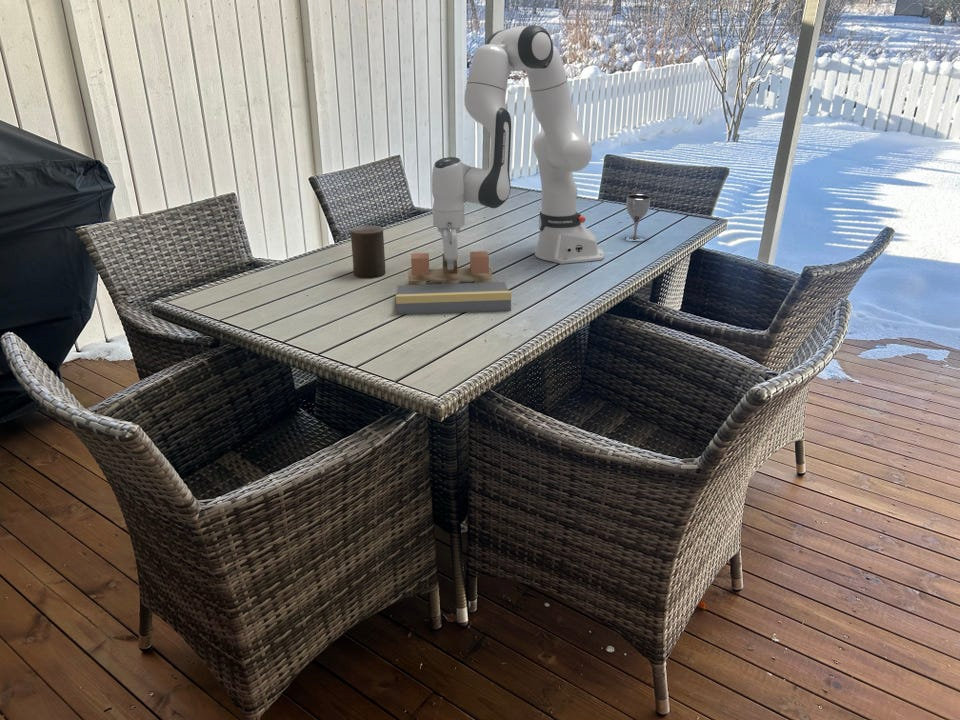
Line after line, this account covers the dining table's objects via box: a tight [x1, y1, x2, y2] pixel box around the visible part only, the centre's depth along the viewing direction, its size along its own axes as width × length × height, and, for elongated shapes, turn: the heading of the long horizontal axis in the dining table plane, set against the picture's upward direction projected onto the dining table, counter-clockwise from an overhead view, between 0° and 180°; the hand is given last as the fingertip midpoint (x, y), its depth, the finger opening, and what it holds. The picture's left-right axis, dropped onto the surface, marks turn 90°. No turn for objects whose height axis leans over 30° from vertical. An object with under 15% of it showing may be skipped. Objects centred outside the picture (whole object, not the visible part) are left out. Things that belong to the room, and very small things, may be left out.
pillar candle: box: [350, 225, 386, 279], centre depth 203 cm, size 10×10×15 cm
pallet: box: [407, 252, 493, 285], centre depth 195 cm, size 24×6×9 cm, turn 95°
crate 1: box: [410, 252, 430, 276], centre depth 193 cm, size 5×5×5 cm
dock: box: [395, 281, 512, 315], centre depth 183 cm, size 30×14×5 cm, turn 95°
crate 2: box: [469, 250, 490, 274], centre depth 194 cm, size 5×5×5 cm
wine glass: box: [626, 193, 652, 240], centre depth 235 cm, size 8×8×15 cm
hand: (450, 266), depth 194 cm, fingers closed on pallet, 3 cm apart
